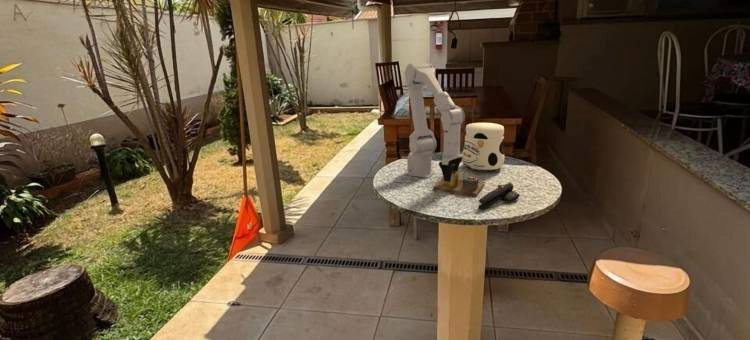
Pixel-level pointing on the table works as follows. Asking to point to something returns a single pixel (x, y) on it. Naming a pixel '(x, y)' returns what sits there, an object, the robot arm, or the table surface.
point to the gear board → (462, 187)
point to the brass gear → (453, 180)
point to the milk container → (483, 147)
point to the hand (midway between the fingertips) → (450, 177)
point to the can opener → (499, 196)
